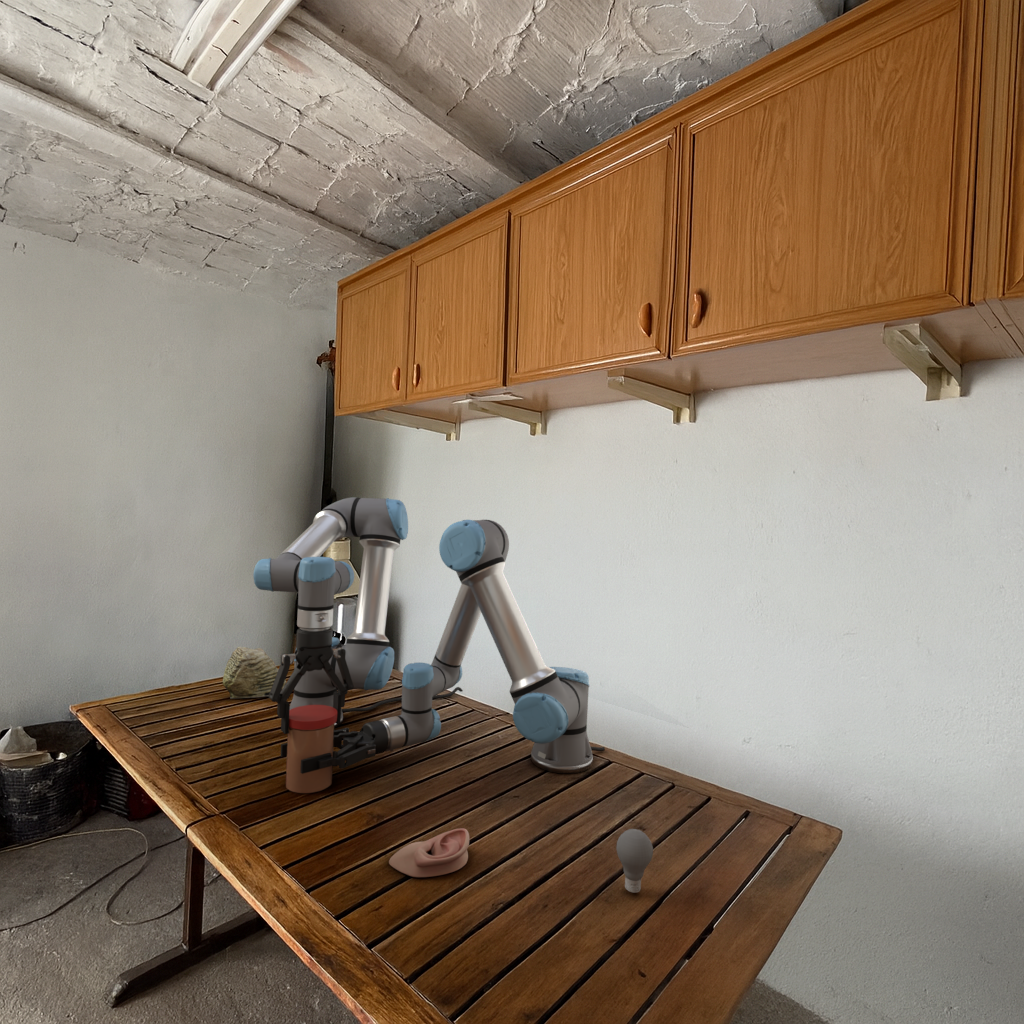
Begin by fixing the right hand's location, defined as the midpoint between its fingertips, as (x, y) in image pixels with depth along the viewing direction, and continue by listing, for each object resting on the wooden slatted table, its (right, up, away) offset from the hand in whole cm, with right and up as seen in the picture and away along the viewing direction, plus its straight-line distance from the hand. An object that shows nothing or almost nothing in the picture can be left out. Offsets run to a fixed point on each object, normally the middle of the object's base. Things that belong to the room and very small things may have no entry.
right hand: (291, 758), depth 137 cm
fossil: (-33, -4, +61) cm, 70 cm away
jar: (+3, -7, +3) cm, 8 cm away
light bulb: (+68, -10, -31) cm, 75 cm away
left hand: (+4, +6, +3) cm, 7 cm away
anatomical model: (+33, -8, -25) cm, 42 cm away
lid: (+4, +9, +3) cm, 10 cm away
